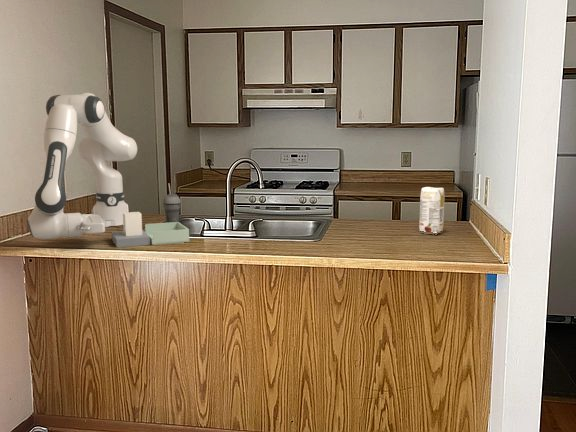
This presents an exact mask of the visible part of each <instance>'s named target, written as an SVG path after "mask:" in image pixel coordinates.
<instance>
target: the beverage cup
mask: <svg viewBox="0 0 576 432" xmlns="http://www.w3.org/2000/svg"><path fill="white" fill-rule="evenodd" d="M168 192H169V194H168V193H167V195H166V196H165V197H164V199H163V204H162V205H163V207H164V214H165V221H166V222H165V223H170V222H179V223H180V208H181V204H182V203H181V199H180V197H179V195H177V194H176V193H171V185H170V183H168Z"/></svg>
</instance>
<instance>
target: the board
mask: <svg viewBox="0 0 576 432" xmlns="http://www.w3.org/2000/svg"><path fill="white" fill-rule="evenodd" d="M111 240H112V242H113V244H114V245H115V247H116V248H126V247H139V246H140V247H142V246H150V245H151V243H150V236H149V235H148V234H147V233H146V232H145V230H144V229H142V235H134V236H126V235H125V234H124V230H120V231H119V230H118V231H117V230H116V231H111Z"/></svg>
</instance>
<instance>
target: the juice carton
mask: <svg viewBox="0 0 576 432" xmlns="http://www.w3.org/2000/svg"><path fill="white" fill-rule="evenodd" d="M419 198H420V201H419V224H418V226H419V227H418V229H419V232H420V231H424V232H433V233H437V232H440V231H442V232H443V229H444V219H445V218H444V215H445V213H444V212H445V189H444V187H432V186H425V187H422V188H421V190H420V197H419Z"/></svg>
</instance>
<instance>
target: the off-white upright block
mask: <svg viewBox="0 0 576 432" xmlns="http://www.w3.org/2000/svg"><path fill="white" fill-rule="evenodd" d="M142 218H143V217H142V213H141V212H140V211H130V212H129V211H128V212H126V213H123V225H122V226H123V231H124V234H125V235H126V236H134V235H142V230H143V219H142Z"/></svg>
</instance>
